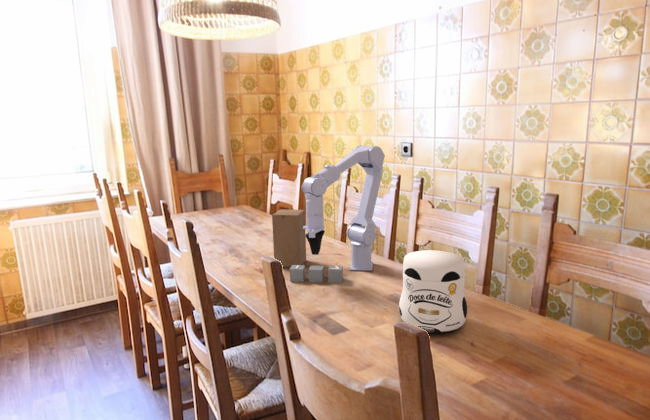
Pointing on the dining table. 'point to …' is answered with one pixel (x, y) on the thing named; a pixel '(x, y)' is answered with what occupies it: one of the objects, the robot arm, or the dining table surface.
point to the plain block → (316, 273)
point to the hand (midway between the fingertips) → (315, 253)
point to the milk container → (433, 291)
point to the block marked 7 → (335, 274)
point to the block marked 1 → (297, 273)
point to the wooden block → (289, 237)
